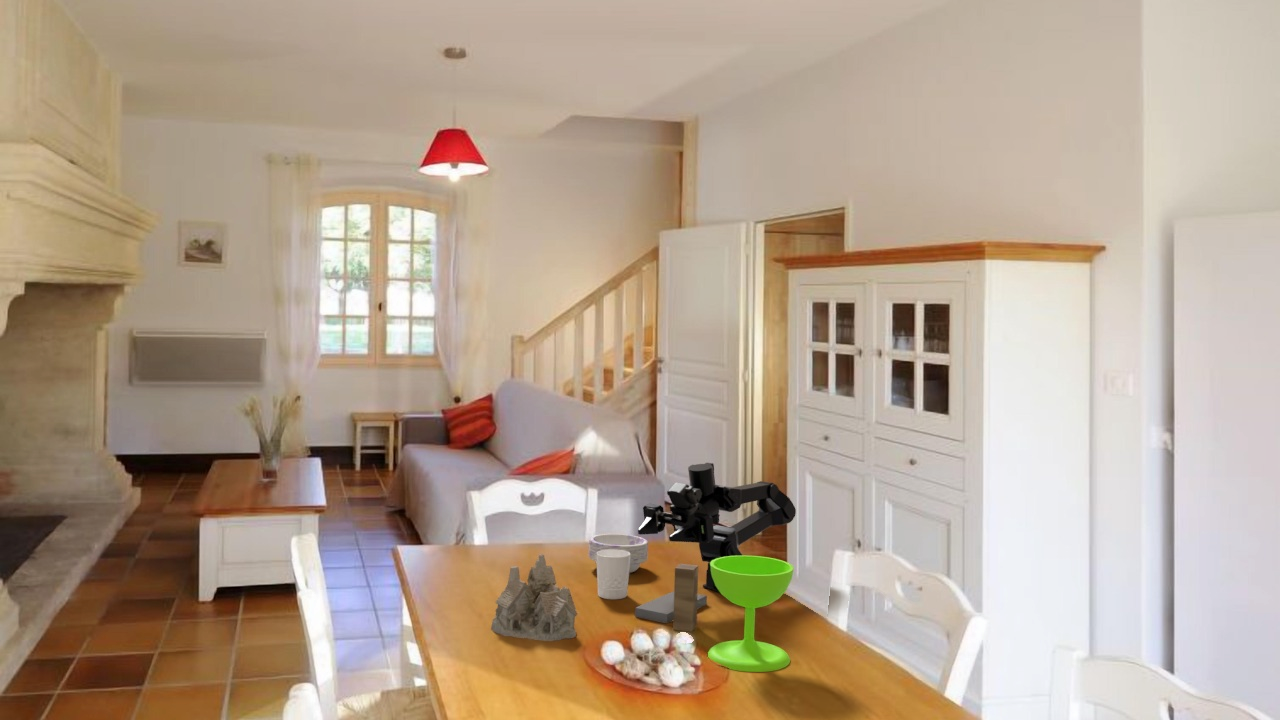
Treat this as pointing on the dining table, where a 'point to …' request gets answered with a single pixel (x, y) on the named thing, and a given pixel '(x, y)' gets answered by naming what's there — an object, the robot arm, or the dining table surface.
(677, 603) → the walnut block
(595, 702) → the dining table surface
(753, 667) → the wineglass
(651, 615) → the slate board
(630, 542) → the paper bowls
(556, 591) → the ceramic cottage
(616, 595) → the white cup
